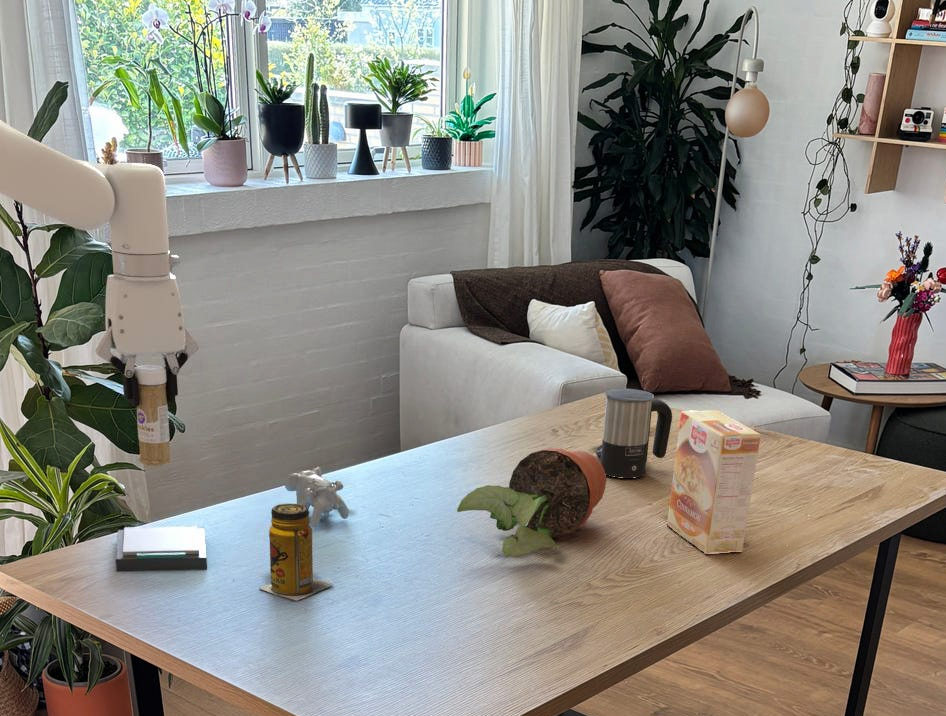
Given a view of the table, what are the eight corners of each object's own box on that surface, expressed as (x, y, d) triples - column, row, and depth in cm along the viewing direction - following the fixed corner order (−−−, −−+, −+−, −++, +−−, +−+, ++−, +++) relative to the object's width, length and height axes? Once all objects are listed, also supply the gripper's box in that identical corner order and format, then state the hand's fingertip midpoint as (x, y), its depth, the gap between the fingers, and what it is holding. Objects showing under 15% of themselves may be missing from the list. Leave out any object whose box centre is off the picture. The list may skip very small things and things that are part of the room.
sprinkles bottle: (133, 463, 188) (125, 368, 181) (152, 456, 191) (145, 362, 185) (159, 469, 186) (152, 372, 179) (178, 461, 190) (172, 366, 183)
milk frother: (621, 482, 242) (630, 402, 235) (562, 462, 252) (569, 383, 245) (672, 471, 250) (682, 393, 243) (613, 452, 260) (621, 376, 253)
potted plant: (532, 518, 227) (439, 560, 198) (546, 430, 220) (453, 460, 191) (614, 541, 221) (532, 586, 192) (632, 451, 214) (549, 485, 185)
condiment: (258, 589, 187) (255, 508, 181) (297, 573, 193) (295, 494, 187) (296, 602, 183) (294, 519, 177) (335, 586, 190) (334, 505, 184)
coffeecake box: (664, 526, 222) (679, 410, 212) (702, 523, 224) (718, 409, 214) (704, 556, 209) (722, 434, 200) (743, 553, 212) (763, 433, 202)
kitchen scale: (116, 571, 190) (115, 555, 189) (118, 541, 201) (117, 526, 200) (207, 569, 193) (206, 553, 192) (204, 539, 204) (203, 524, 202)
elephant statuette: (326, 532, 209) (326, 485, 206) (264, 519, 214) (262, 473, 210) (356, 517, 217) (356, 472, 213) (295, 504, 221) (294, 459, 217)
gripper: (191, 259, 182) (198, 392, 191) (70, 262, 174) (84, 401, 183) (211, 268, 177) (218, 404, 186) (87, 271, 169) (101, 414, 178)
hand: (151, 401), depth 184 cm, fingers closed on sprinkles bottle, 4 cm apart
